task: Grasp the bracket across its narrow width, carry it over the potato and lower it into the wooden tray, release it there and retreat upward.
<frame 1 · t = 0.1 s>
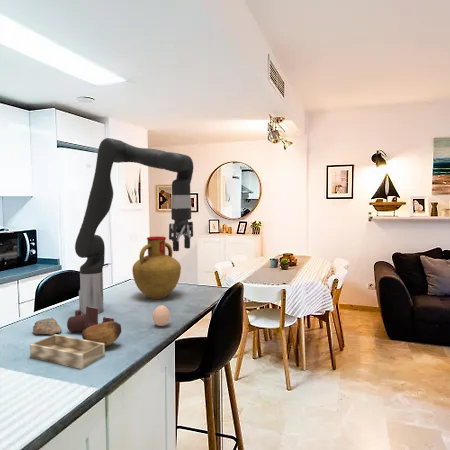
hand: (181, 249, 141), 29 cm above the breakfast bar, fingers open, 8 cm apart
egg: (161, 326, 142), on the breakfast bar
wooden tray: (67, 356, 114), on the breakfast bar
rock: (47, 333, 136), on the breakfast bar
bracket: (93, 333, 135), on the breakfast bar
potato: (101, 346, 122), on the breakfast bar
vase: (157, 297, 186), on the breakfast bar
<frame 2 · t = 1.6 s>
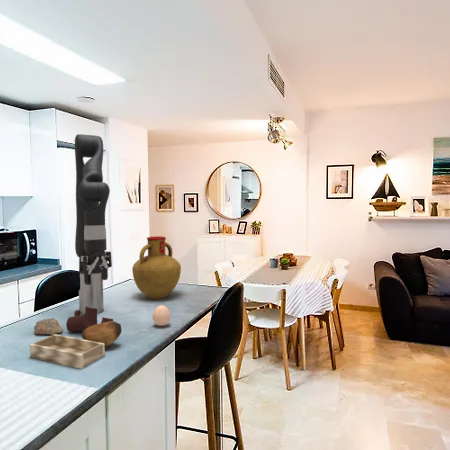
hand: (96, 282, 134), 18 cm above the breakfast bar, fingers open, 8 cm apart
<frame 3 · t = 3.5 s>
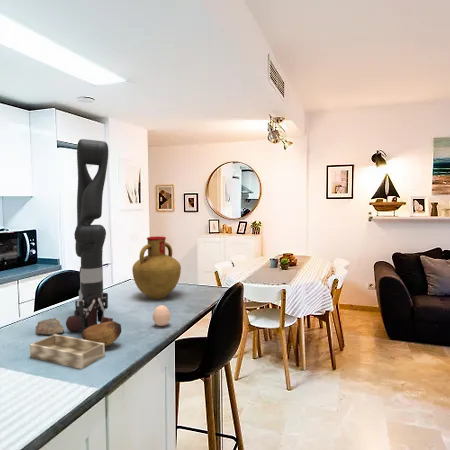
hand: (92, 324, 135), 3 cm above the breakfast bar, fingers closed on bracket, 7 cm apart
bracket: (91, 332, 135), on the breakfast bar, touching gripper
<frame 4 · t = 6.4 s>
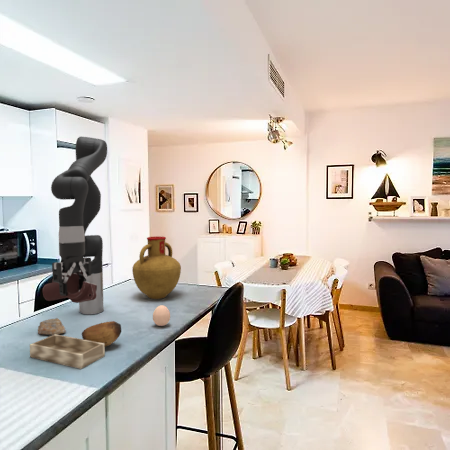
hand: (73, 292, 117), 19 cm above the breakfast bar, fingers closed on bracket, 7 cm apart
bracket: (72, 302, 118), point 16 cm above the breakfast bar, touching gripper
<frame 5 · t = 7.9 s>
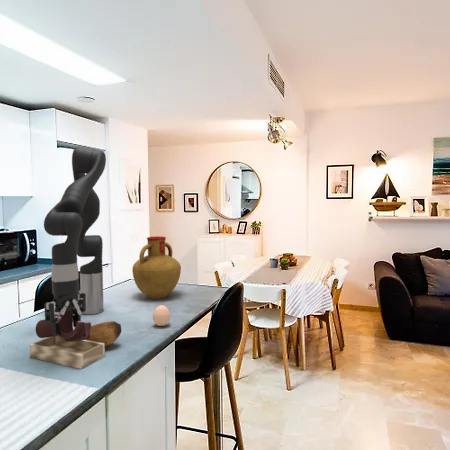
hand: (67, 330, 114), 8 cm above the breakfast bar, fingers closed on bracket, 7 cm apart
bracket: (66, 340, 115), point 5 cm above the breakfast bar, touching gripper
when the fingers open (5 cm above the breakfast bar, at t = 9.1 s): bracket stays where it is, resting on wooden tray.
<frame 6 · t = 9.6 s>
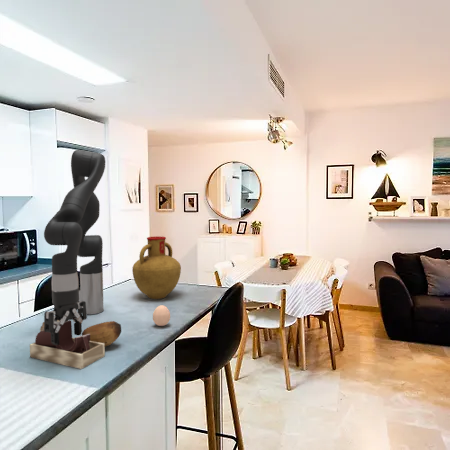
hand: (67, 339, 114), 5 cm above the breakfast bar, fingers open, 8 cm apart
bracket: (67, 351, 115), point 1 cm above the breakfast bar, touching wooden tray
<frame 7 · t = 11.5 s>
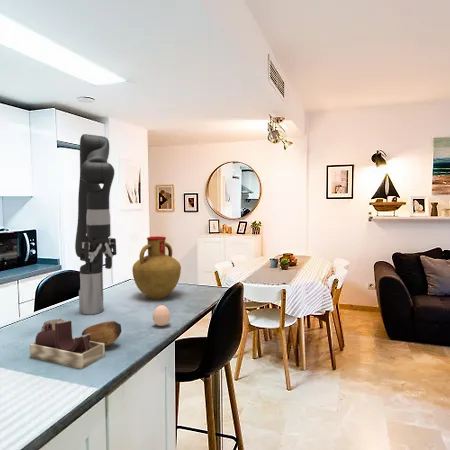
hand: (99, 270, 125), 24 cm above the breakfast bar, fingers open, 8 cm apart
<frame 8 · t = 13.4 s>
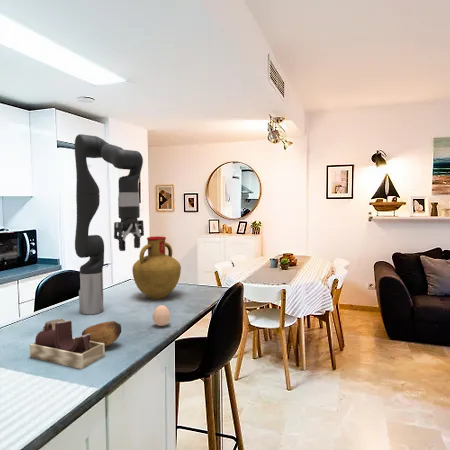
hand: (129, 249, 136), 30 cm above the breakfast bar, fingers open, 8 cm apart
at the end: bracket inside the target area on the wooden tray (1.4 cm from its centre), point 1.3 cm above the wooden tray's base; the gripper is holding nothing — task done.
